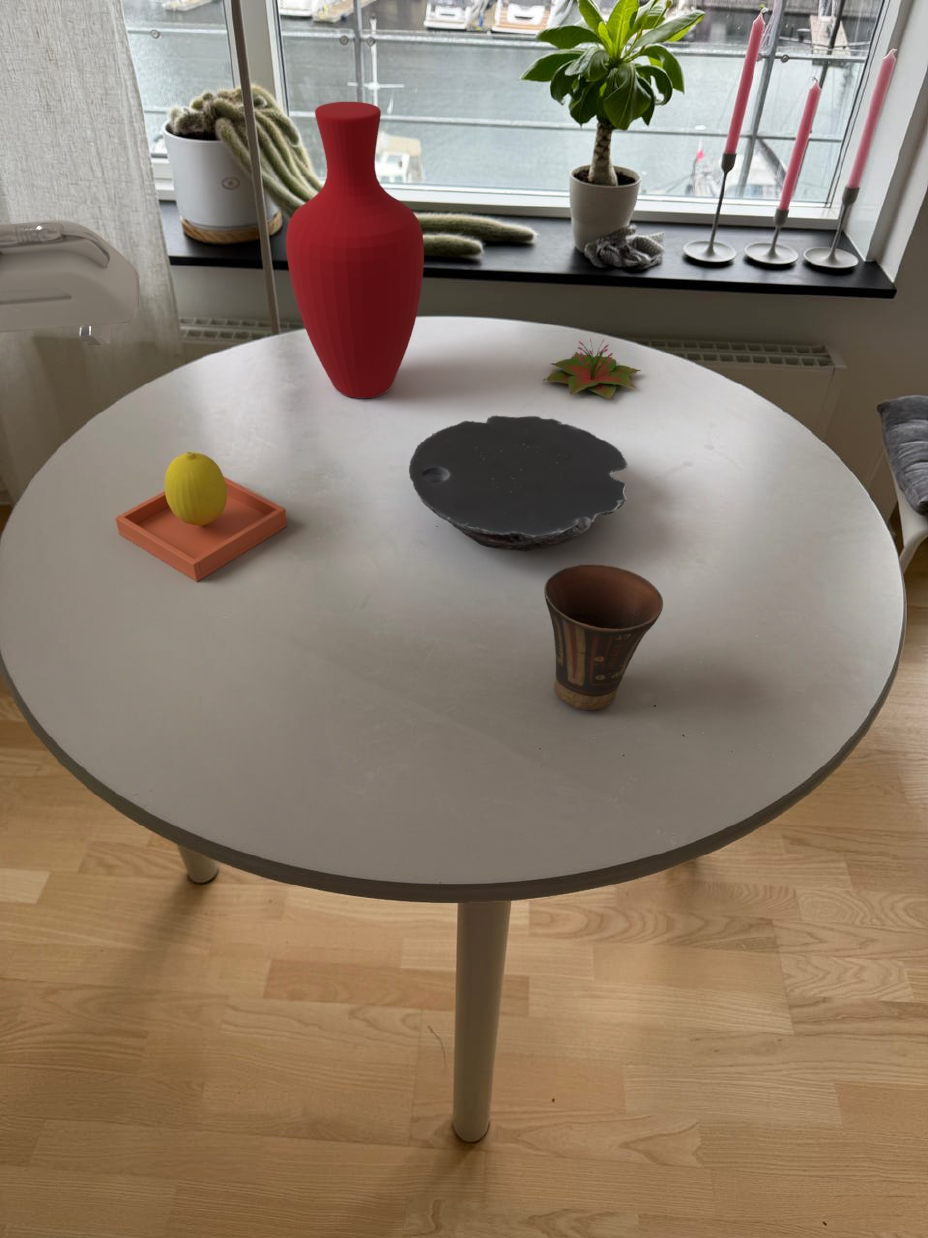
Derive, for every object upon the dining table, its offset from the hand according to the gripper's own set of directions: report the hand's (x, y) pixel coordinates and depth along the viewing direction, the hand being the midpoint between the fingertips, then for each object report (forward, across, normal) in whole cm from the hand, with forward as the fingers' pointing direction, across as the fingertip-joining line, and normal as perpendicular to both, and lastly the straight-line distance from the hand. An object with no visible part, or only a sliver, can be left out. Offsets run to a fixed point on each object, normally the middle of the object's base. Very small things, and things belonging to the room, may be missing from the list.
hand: (39, 340), depth 71 cm
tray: (+24, -4, +8) cm, 26 cm away
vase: (+44, -15, -13) cm, 49 cm away
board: (+30, -33, +7) cm, 45 cm away
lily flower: (+49, -42, -14) cm, 66 cm away
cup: (+15, -39, +26) cm, 49 cm away
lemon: (+24, -3, +8) cm, 25 cm away
